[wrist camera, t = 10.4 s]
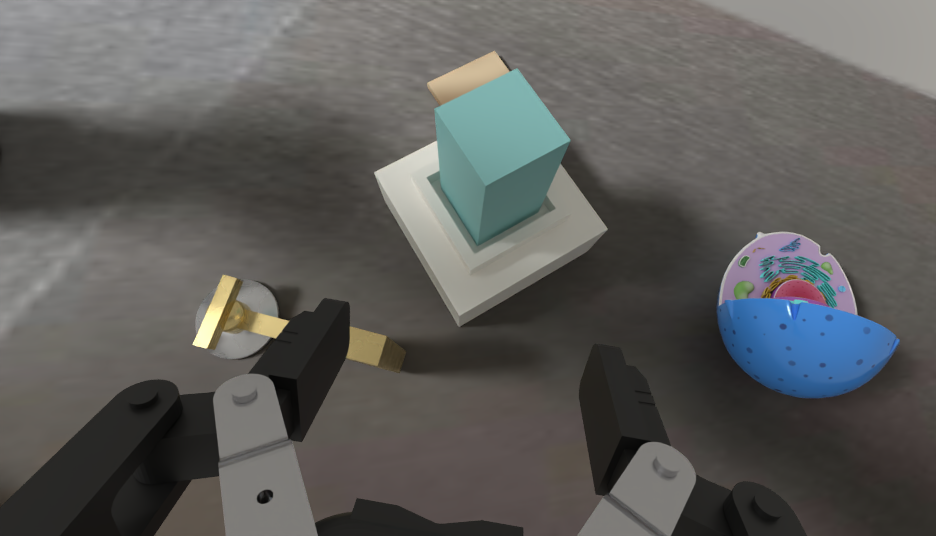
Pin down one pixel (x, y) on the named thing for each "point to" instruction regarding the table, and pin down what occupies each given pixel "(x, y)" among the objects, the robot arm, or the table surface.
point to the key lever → (239, 317)
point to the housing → (495, 261)
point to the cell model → (797, 320)
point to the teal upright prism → (497, 154)
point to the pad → (467, 78)
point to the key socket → (243, 341)
